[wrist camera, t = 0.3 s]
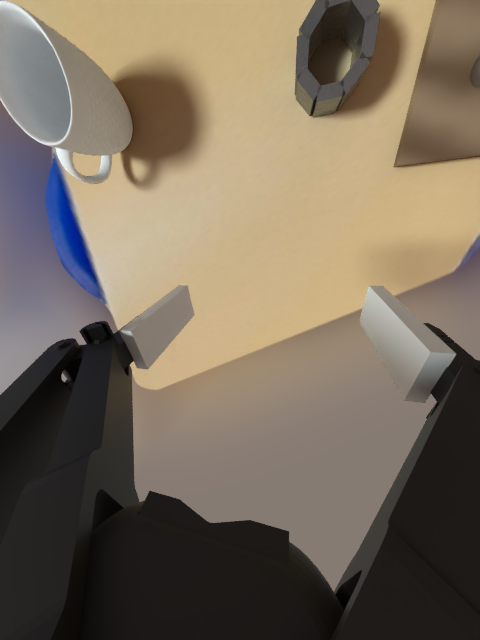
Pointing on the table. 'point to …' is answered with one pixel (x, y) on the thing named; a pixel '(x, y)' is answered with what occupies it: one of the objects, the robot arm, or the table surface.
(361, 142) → the table surface
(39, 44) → the mug
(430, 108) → the stand
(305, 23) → the ring
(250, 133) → the table surface
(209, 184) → the table surface
